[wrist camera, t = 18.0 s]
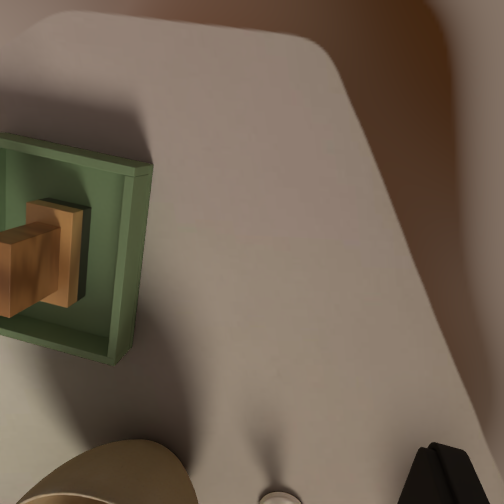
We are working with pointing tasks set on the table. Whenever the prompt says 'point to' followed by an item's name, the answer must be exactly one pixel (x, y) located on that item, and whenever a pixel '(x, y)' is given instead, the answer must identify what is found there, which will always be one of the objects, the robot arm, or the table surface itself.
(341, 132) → the table surface
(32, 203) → the wooden inverted t block
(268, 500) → the chess piece
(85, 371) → the table surface
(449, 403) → the table surface
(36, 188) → the tray
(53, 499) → the tan bowl
